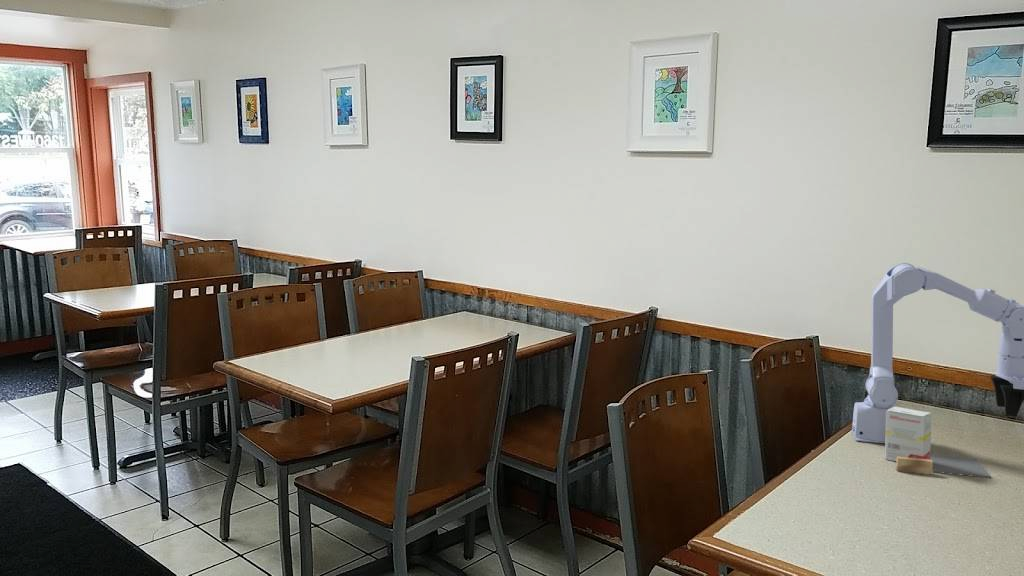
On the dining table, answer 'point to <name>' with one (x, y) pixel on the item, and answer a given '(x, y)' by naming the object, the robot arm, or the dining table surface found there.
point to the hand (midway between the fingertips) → (1006, 411)
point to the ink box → (907, 434)
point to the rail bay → (914, 465)
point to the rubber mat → (958, 465)
